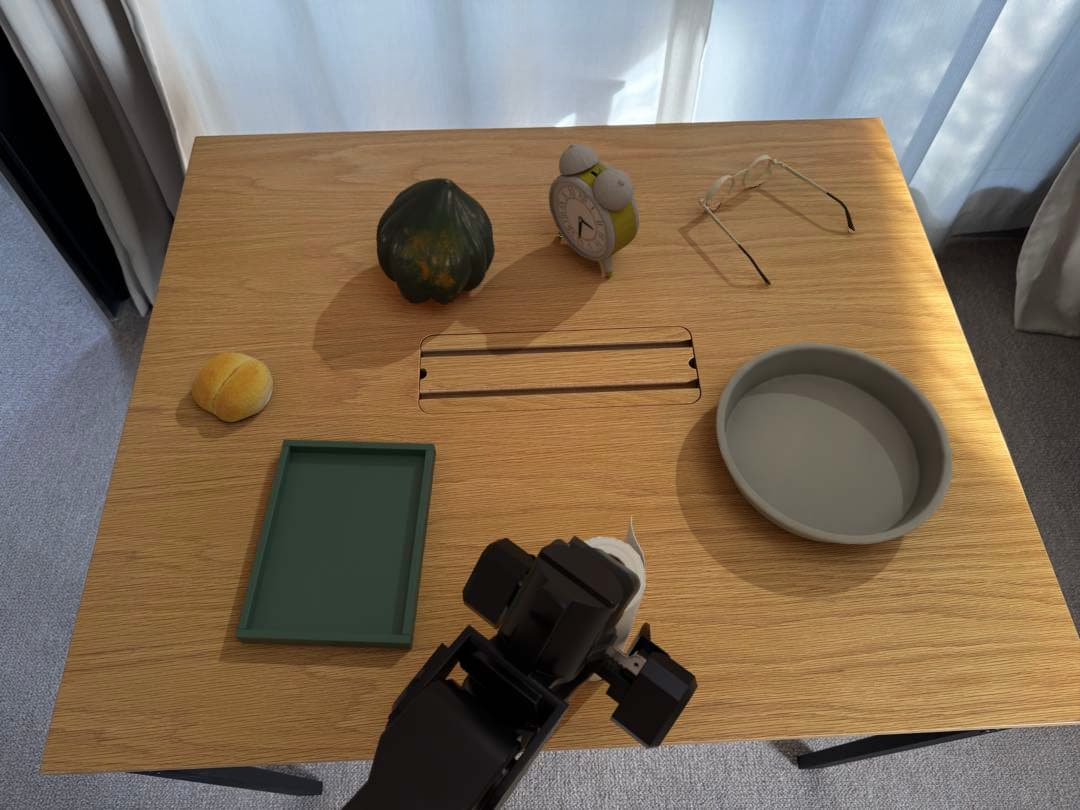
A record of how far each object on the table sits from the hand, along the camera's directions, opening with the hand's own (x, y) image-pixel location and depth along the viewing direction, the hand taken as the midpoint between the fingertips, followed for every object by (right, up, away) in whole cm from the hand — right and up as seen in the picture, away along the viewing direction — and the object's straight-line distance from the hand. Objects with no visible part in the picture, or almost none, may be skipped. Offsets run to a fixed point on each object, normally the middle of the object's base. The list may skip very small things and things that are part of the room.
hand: (611, 602), depth 66 cm
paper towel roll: (-1, -6, +8) cm, 10 cm away
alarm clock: (+1, +38, +36) cm, 52 cm away
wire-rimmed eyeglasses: (+25, +41, +38) cm, 61 cm away
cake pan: (+25, +12, +19) cm, 34 cm away
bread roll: (-42, +18, +24) cm, 52 cm away
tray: (-26, +3, +14) cm, 30 cm away
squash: (-19, +34, +34) cm, 51 cm away
